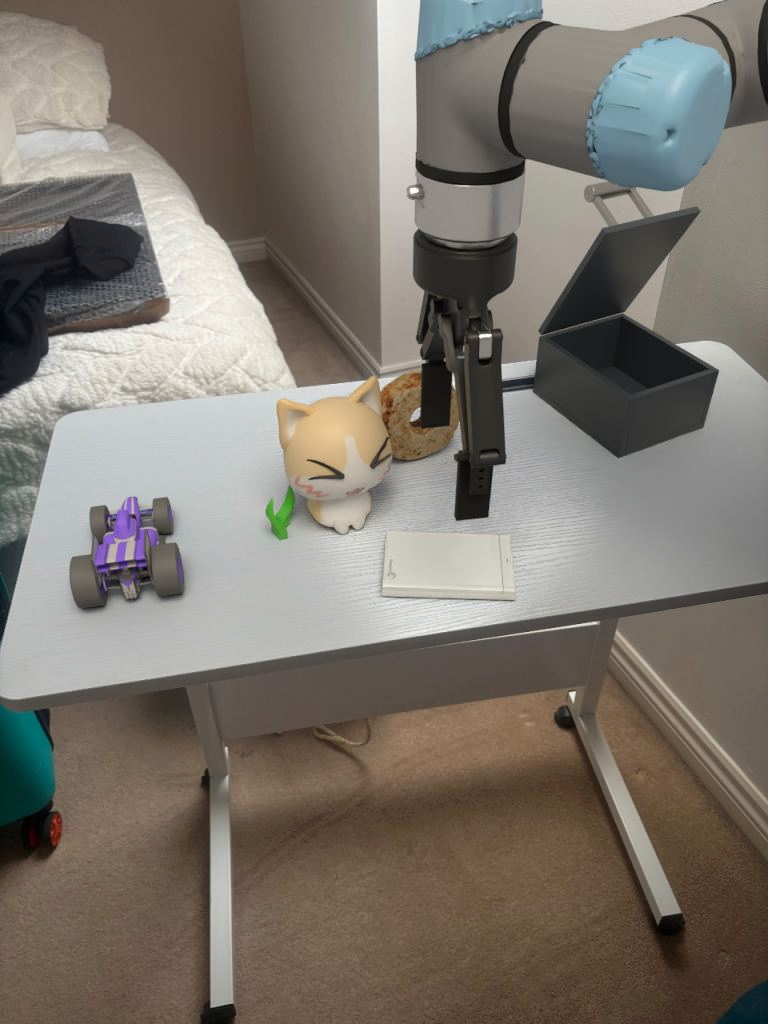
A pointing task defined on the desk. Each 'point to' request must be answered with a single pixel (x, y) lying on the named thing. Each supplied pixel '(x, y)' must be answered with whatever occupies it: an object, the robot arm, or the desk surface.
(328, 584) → the desk surface
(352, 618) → the desk surface
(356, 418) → the kitten
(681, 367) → the black box
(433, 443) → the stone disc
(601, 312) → the box lid
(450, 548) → the hard drive
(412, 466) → the desk surface
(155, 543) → the toy race car
